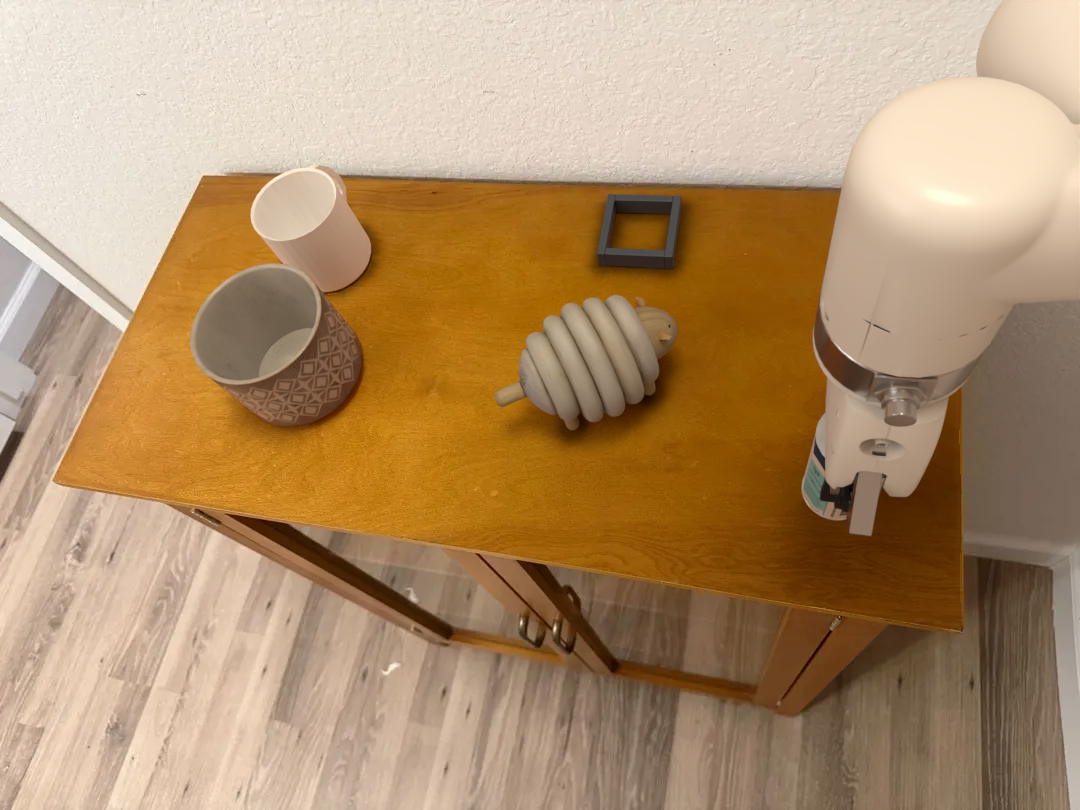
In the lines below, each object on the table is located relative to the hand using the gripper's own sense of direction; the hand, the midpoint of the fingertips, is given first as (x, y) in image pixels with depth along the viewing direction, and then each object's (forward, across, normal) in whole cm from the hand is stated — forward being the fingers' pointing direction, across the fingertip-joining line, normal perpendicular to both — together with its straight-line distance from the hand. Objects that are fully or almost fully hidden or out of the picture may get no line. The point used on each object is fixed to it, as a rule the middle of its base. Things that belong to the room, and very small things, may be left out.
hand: (846, 459), depth 52 cm
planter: (+11, +8, +50) cm, 52 cm away
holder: (+11, +26, +19) cm, 34 cm away
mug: (+11, +23, +52) cm, 58 cm away
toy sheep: (+11, +9, +21) cm, 25 cm away
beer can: (+7, 0, 0) cm, 7 cm away
